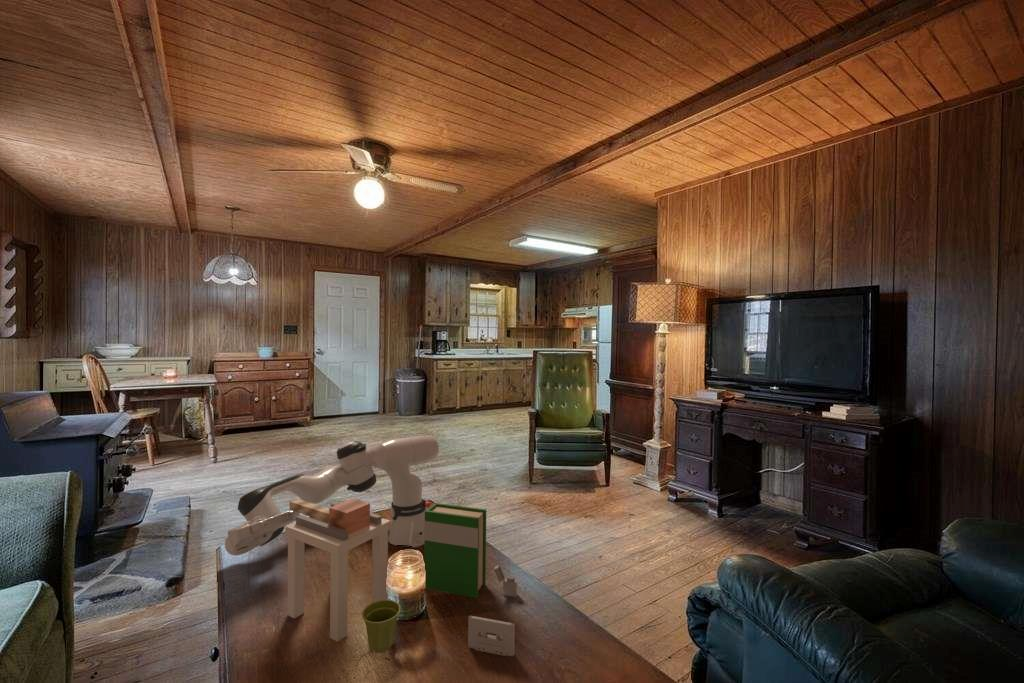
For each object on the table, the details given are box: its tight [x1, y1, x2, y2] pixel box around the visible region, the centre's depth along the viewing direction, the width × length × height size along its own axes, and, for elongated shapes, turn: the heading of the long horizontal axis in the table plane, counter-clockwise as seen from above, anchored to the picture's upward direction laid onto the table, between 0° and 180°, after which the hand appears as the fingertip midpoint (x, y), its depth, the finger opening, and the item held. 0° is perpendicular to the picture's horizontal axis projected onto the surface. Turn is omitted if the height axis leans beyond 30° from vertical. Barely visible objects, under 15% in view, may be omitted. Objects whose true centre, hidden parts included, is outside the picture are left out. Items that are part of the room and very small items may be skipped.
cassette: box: [467, 615, 516, 657], centre depth 110 cm, size 12×2×8 cm, turn 75°
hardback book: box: [423, 502, 487, 599], centre depth 139 cm, size 18×7×24 cm, turn 74°
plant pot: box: [361, 599, 402, 653], centre depth 112 cm, size 9×9×9 cm
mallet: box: [288, 498, 371, 535], centre depth 129 cm, size 29×8×6 cm, turn 60°
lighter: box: [493, 565, 518, 598], centre depth 135 cm, size 7×2×8 cm, turn 73°
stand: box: [284, 502, 392, 642], centre depth 125 cm, size 22×18×27 cm
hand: (279, 518), depth 139 cm, fingers open, 8 cm apart
